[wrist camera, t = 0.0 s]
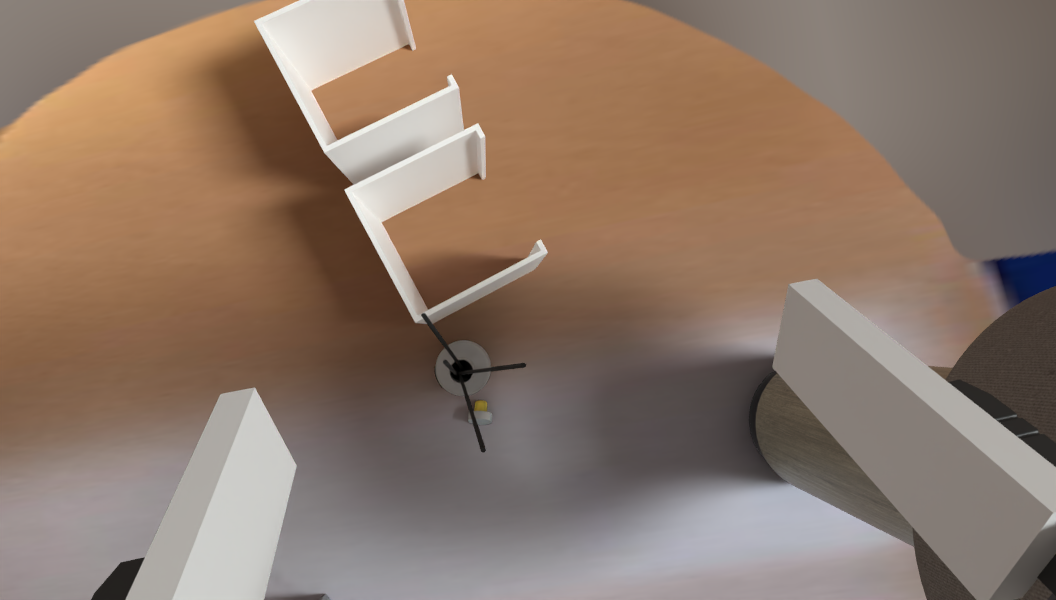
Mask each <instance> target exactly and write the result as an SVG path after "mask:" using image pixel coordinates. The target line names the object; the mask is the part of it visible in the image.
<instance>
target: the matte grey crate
mask: <svg viewBox="0 0 1056 600" xmlns="http://www.w3.org/2000/svg"><path fill="white" fill-rule="evenodd" d="M319 600H330V599H329V597H328V596H327V595H326V594H325V595H324V596H322V597H321V598H320V599H319Z"/></svg>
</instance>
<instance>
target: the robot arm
mask: <svg viewBox="0 0 1056 600" xmlns="http://www.w3.org/2000/svg"><path fill="white" fill-rule="evenodd" d="M772 367H773V369H774V370H775V371H776V372H777V373H778V374H779V375H780V377H781V378H782V379H783V380H784V381H785V382H786V383H787V385H788V386H789V387H790V388H791V389H792V390H793V391H794V393H795V394H796V395H797V396H798V397H799V398H800V399H801V401H802V402H803V403H804V404H805V405H806V406H807V407H808V408H809V410H810V411H811V412H812V413H813V414H814V415H815V416H816V418H817V419H818V420H819V421H820V422H821V423H822V424H823V426H824V427H825V428H826V429H827V430H828V431H829V432H830V434H831V435H832V436H833V437H834V438H835V439H836V440H837V442H838V443H839V444H840V445H841V446H842V447H843V448H844V450H845V451H846V452H847V453H848V454H849V455H850V456H851V457H852V459H853V460H854V461H855V462H856V463H857V464H858V465H859V467H860V468H861V469H862V470H863V471H864V472H865V473H866V475H867V476H868V477H869V478H870V479H871V480H872V481H873V483H874V484H875V485H876V486H877V487H878V488H879V489H880V491H881V492H882V493H883V494H884V495H885V496H886V497H887V498H888V500H889V501H890V502H891V503H892V504H893V505H894V506H895V508H896V509H897V510H898V511H899V512H900V513H901V514H902V516H903V517H904V518H905V519H906V520H907V521H908V522H909V524H910V525H911V526H912V527H913V528H914V529H915V530H916V532H917V533H918V534H919V535H920V536H921V537H922V538H923V540H924V541H925V542H926V543H927V544H928V545H929V546H930V547H931V549H932V550H933V551H934V552H935V553H936V554H937V555H938V557H939V558H940V559H941V560H942V561H943V562H944V563H945V565H946V566H947V567H948V568H949V569H950V570H951V571H952V573H953V574H954V575H955V576H956V577H957V578H958V579H959V581H960V582H961V583H962V584H963V585H964V586H965V587H966V588H967V590H968V591H969V592H970V593H971V594H972V595H973V596H974V598H975V599H976V600H1015V599H1019V598H1023V596H1024V595H1025V594H1026V593H1027V591H1028V590H1029V589H1030V588H1031V586H1032V585H1033V584H1034V583H1035V581H1036V580H1037V579H1039V580H1040V581H1041V582H1042V583H1043V584H1044V585H1045V586H1046V587H1047V588H1048V589H1049V590H1050V591H1051V592H1052V594H1051V596H1050V597H1049V598H1048V599H1047V600H1056V443H1055V442H1054V441H1053V440H1051V439H1050V438H1049V437H1047V436H1046V435H1045V434H1040V433H1039V432H1038V429H1037V428H1035V427H1034V426H1033V425H1031V424H1030V423H1029V422H1027V421H1026V420H1025V419H1023V418H1018V417H1017V413H1015V412H1014V411H1013V410H1011V409H1010V408H1009V407H1007V406H1006V405H1005V404H1003V403H1002V402H1001V401H999V400H998V399H997V398H995V397H994V396H993V395H991V394H989V393H987V392H985V391H983V390H981V389H979V388H977V387H975V386H973V385H970V384H968V383H966V382H964V381H962V380H955V381H950V382H947V381H946V380H945V379H943V378H942V377H941V376H940V375H938V374H937V373H936V372H934V371H933V370H932V369H931V368H929V367H928V366H927V365H926V364H924V363H923V362H922V361H921V360H919V359H918V358H917V357H915V356H914V355H913V354H912V353H910V352H909V351H908V350H907V349H905V348H904V347H903V346H902V345H900V344H899V343H898V342H896V341H895V340H894V339H893V338H891V337H890V336H889V335H888V334H886V333H885V332H884V331H883V330H881V329H880V328H879V327H877V326H876V325H875V324H874V323H872V322H871V321H870V320H869V319H867V318H866V317H865V316H864V315H862V314H861V313H860V312H858V311H857V310H856V309H855V308H853V307H852V306H851V305H850V304H848V303H847V302H846V301H845V300H843V299H842V298H841V297H839V296H838V295H837V294H836V293H834V292H833V291H832V290H831V289H829V288H828V287H827V286H825V285H824V284H823V283H822V282H820V281H819V280H818V279H813V280H808V281H803V282H798V283H793V284H789V285H788V290H787V295H786V300H785V305H784V310H783V315H782V320H781V325H780V330H779V335H778V340H777V345H776V350H775V356H774V361H773V366H772ZM296 467H297V465H296V463H295V462H294V460H293V458H292V456H291V454H290V452H289V450H288V448H287V447H286V445H285V443H284V441H283V439H282V437H281V435H280V434H279V432H278V430H277V428H276V426H275V424H274V422H273V420H272V419H271V417H270V415H269V413H268V411H267V409H266V407H265V406H264V404H263V402H262V400H261V398H260V396H259V394H258V392H257V391H256V389H255V388H249V389H244V390H239V391H234V392H229V393H224V394H220V396H219V399H218V401H217V403H216V405H215V407H214V409H213V412H212V414H211V416H210V418H209V420H208V422H207V425H206V427H205V429H204V431H203V433H202V435H201V437H200V440H199V442H198V444H197V446H196V448H195V450H194V453H193V455H192V457H191V459H190V461H189V463H188V466H187V468H186V470H185V472H184V474H183V476H182V479H181V481H180V483H179V485H178V487H177V489H176V492H175V494H174V496H173V498H172V500H171V502H170V505H169V507H168V509H167V511H166V513H165V515H164V517H163V520H162V522H161V524H160V526H159V528H158V530H157V533H156V535H155V537H154V539H153V541H152V543H151V546H150V548H149V550H148V552H147V554H146V556H145V557H144V558H140V559H135V560H131V561H126V562H121V563H120V564H119V565H118V567H117V568H116V569H115V570H114V571H113V572H112V574H111V575H110V576H109V577H108V578H107V579H106V581H105V582H104V583H103V584H102V585H101V586H100V588H99V589H98V590H97V591H96V592H95V593H94V595H93V597H92V599H91V600H264V598H265V593H266V589H267V585H268V581H269V577H270V573H271V569H272V565H273V561H274V557H275V553H276V548H277V544H278V540H279V536H280V532H281V528H282V524H283V520H284V516H285V512H286V508H287V503H288V499H289V495H290V491H291V487H292V483H293V479H294V475H295V471H296Z"/></svg>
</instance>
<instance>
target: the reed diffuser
mask: <svg viewBox="0 0 1056 600" xmlns="http://www.w3.org/2000/svg"><path fill="white" fill-rule="evenodd" d="M421 316H422V318H423V319H424V320H425V322H426V323H427V324H428V326H429V327H430V329H431V330H432V331H433V333H434V334H435V335H436V337H437V338H438V339H439V341H440V342H441V343H442V345H443V346H444V347H445V348H444V349H443V350H442V351H441V353H440V354H439V356H438V358H437V361H436V366H435V367H434V368H435V375H436V379H437V381H438V383H439V384H440V386H441V387H443V388H444V389H445V390H446V391H448V392H449V393H451V394H454V395H457V396H465V399H466V402H467V406H468V409H469V414H468V422H469V423H471V424H473V426H474V429H475V432H476V436H477V439H478V442H479V446H480V449H481V452H485V451H486V449H485V446H484V443H483V440H482V437H481V433H480V430H479V427H478V425H487V424H491V423H492V414H491V413H489V412H487V402H486V401H483V400H478V401H476V402H475V408H474V411H473V409H472V405H471V402H470V399H469V396H468V395H472V394H474V393H476V392H478V391H479V390H481V389H482V388H483V387H484V386H485V385H486V383H487V382H488V380H489V377H490V374H491V371H498V370H507V369H515V368H524V367H526V364H525V363H519V364H512V365H505V366H497V367H491V362H490V358H489V356H488V354H487V352H486V351H485V350H484V348H482V347H481V346H480V345H478V344H477V343H475V342H472V341H467V340H461V341H456V342H453V343H451V344H449V345H447V343H446V342H445V341H444V339H443V338H442V336H441V335H440V334H439V332H438V331H437V329H436V328H435V327H434V325H433V324H432V322H431V321H430V319H429V318H428V317H427V315H426V314H425V313H422V314H421Z"/></svg>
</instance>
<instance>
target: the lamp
mask: <svg viewBox="0 0 1056 600" xmlns="http://www.w3.org/2000/svg"><path fill="white" fill-rule="evenodd" d="M928 367H929V368H931V369H932V370H933V371H934V372H936V373H937V374H938V375H940V376H941V377H942V378H943V379H945V380H946V381H947V382H950V381H955V380H962V381H964V382H966V383H968V384H970V385H973V386H975V387H977V388H979V389H981V390H983V391H985V392H987V393H989V394H991V395H993V396H994V397H995V398H997V399H998V400H999V401H1001V402H1002V403H1003V404H1005V405H1006V406H1007V407H1009V408H1010V409H1011V410H1013V411H1014V412H1015V413H1017V417H1018V418H1023V419H1025V420H1026V421H1027V422H1029V423H1030V424H1031V425H1033V426H1034V427H1035V428H1037V429H1038V432H1039V433H1040V434H1045V435H1046V436H1047V437H1049V438H1050V439H1051V440H1053V441H1054V442H1055V443H1056V286H1055V287H1052V288H1050V289H1047V290H1045V291H1043V292H1040V293H1038V294H1036V295H1034V296H1032V297H1030V298H1028V299H1026V300H1024V301H1023V302H1021V303H1020V304H1018V305H1016V306H1015V307H1013V308H1012V309H1010V310H1009V311H1007V312H1006V313H1005V314H1003V315H1002V316H1001V317H999V318H998V319H997V320H995V321H994V322H993V323H992V324H991V325H990V326H989V327H987V328H986V329H985V330H984V331H983V332H982V333H981V334H980V335H979V336H978V337H977V338H976V339H975V340H974V341H973V343H972V344H971V345H970V346H969V347H968V348H967V350H966V351H965V352H964V353H963V355H962V356H961V357H960V358H959V360H958V361H957V363H956V364H955V366H954V367H953V368H947V367H935V366H928ZM749 423H750V431H751V435H752V439H753V441H754V443H755V446H756V448H757V449H758V451H759V453H760V454H761V456H762V457H763V458H764V459H765V460H766V461H767V462H768V464H769V465H770V467H771V468H772V469H773V470H774V471H775V472H776V473H777V474H778V475H779V476H780V477H781V478H782V479H784V480H785V481H787V482H788V483H790V484H792V485H793V486H795V487H797V488H799V489H801V490H803V491H805V492H807V493H809V494H811V495H813V496H815V497H817V498H819V499H821V500H823V501H825V502H827V503H829V504H831V505H833V506H835V507H837V508H839V509H841V510H842V511H844V512H846V513H848V514H850V515H852V516H854V517H856V518H858V519H860V520H862V521H864V522H866V523H868V524H870V525H872V526H874V527H876V528H878V529H880V530H882V531H884V532H886V533H888V534H890V535H892V536H894V537H896V538H898V539H900V540H902V541H904V542H905V543H907V544H909V545H911V546H913V547H914V548H915V554H916V561H917V565H918V569H919V574H920V578H921V582H922V585H923V589H924V592H925V595H926V598H927V600H976V599H975V598H974V596H973V595H972V594H971V593H970V592H969V591H968V590H967V588H966V587H965V586H964V585H963V584H962V583H961V582H960V581H959V579H958V578H957V577H956V576H955V575H954V574H953V573H952V571H951V570H950V569H949V568H948V567H947V566H946V565H945V563H944V562H943V561H942V560H941V559H940V558H939V557H938V555H937V554H936V553H935V552H934V551H933V550H932V549H931V547H930V546H929V545H928V544H927V543H926V542H925V541H924V540H923V538H922V537H921V536H920V535H919V534H918V533H917V532H916V530H915V529H914V528H913V527H912V526H911V525H910V524H909V522H908V521H907V520H906V519H905V518H904V517H903V516H902V514H901V513H900V512H899V511H898V510H897V509H896V508H895V506H894V505H893V504H892V503H891V502H890V501H889V500H888V498H887V497H886V496H885V495H884V494H883V493H882V492H881V491H880V489H879V488H878V487H877V486H876V485H875V484H874V483H873V481H872V480H871V479H870V478H869V477H868V476H867V475H866V473H865V472H864V471H863V470H862V469H861V468H860V467H859V465H858V464H857V463H856V462H855V461H854V460H853V459H852V457H851V456H850V455H849V454H848V453H847V452H846V451H845V450H844V448H843V447H842V446H841V445H840V444H839V443H838V442H837V440H836V439H835V438H834V437H833V436H832V435H831V434H830V432H829V431H828V430H827V429H826V428H825V427H824V426H823V424H822V423H821V422H820V421H819V420H818V419H817V418H816V416H815V415H814V414H813V413H812V412H811V411H810V410H809V408H808V407H807V406H806V405H805V404H804V403H803V402H802V401H801V399H800V398H799V397H798V396H797V395H796V394H795V393H794V391H793V390H792V389H791V388H790V387H789V386H788V385H787V383H786V382H785V381H784V380H783V379H782V378H781V377H780V375H779V374H778V373H777V372H776V371H774V372H772V373H771V374H770V375H768V376H767V377H766V378H765V379H764V380H763V382H762V383H761V384H760V385H759V387H758V389H757V391H756V392H755V394H754V397H753V400H752V402H751V407H750V414H749ZM1051 594H1052V592H1051V591H1050V590H1049V589H1048V588H1047V587H1046V586H1045V585H1044V584H1043V583H1042V582H1041V581H1040V580H1039V579H1037V580H1036V581H1035V583H1034V584H1033V585H1032V586H1031V588H1030V589H1029V590H1028V591H1027V593H1026V594H1025V595H1024V596H1023V598H1019V599H1015V600H1047V599H1048V598H1049V597H1050V596H1051Z"/></svg>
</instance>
